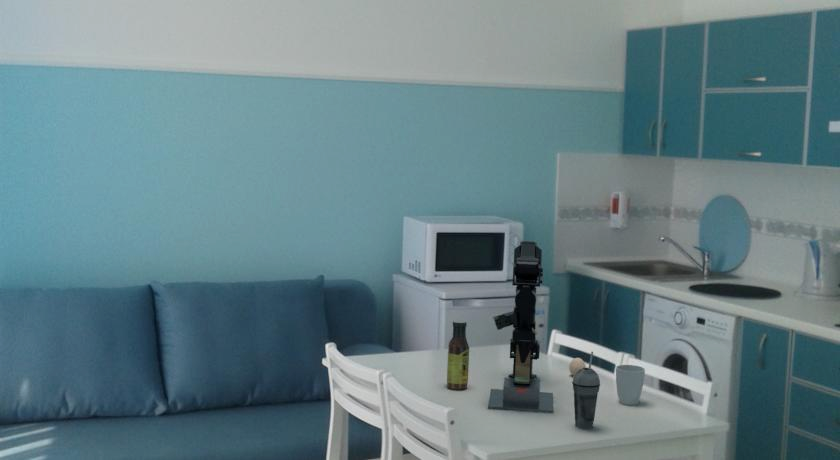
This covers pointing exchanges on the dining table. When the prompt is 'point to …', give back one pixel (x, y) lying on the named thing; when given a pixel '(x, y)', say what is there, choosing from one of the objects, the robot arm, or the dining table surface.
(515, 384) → the stand
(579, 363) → the egg
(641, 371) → the cup
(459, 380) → the sauce bottle
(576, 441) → the dining table surface
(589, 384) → the beverage cup
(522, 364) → the post
